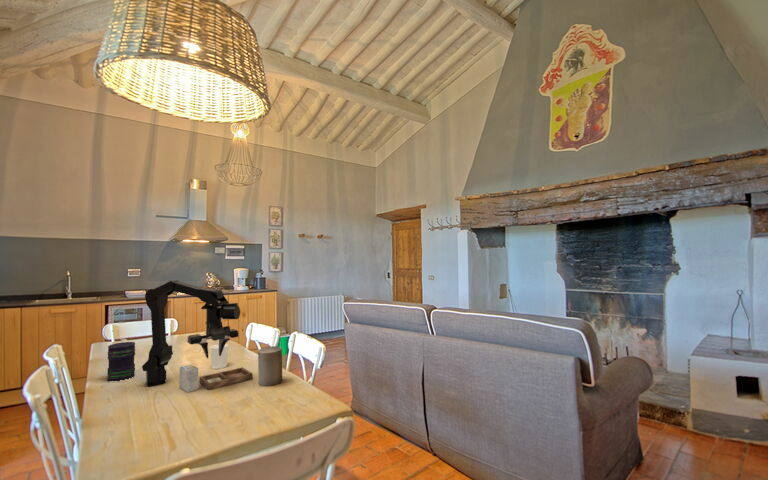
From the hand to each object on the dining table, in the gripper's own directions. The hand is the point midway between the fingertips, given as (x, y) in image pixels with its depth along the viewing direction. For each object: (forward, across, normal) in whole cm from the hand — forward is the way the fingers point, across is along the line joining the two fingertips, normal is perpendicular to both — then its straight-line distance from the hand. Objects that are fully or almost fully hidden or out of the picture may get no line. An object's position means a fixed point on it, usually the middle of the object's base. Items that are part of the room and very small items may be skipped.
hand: (213, 357), depth 147 cm
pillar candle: (+11, +18, -15) cm, 26 cm away
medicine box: (+11, -9, +1) cm, 15 cm away
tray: (+11, +5, 0) cm, 12 cm away
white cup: (+11, +9, +23) cm, 27 cm away
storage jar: (+11, -28, +37) cm, 48 cm away
